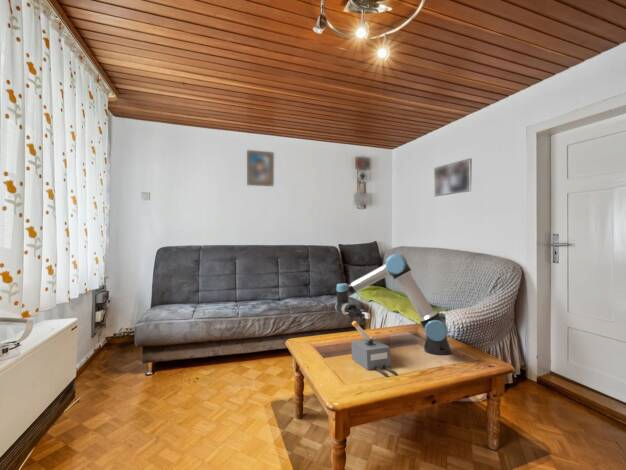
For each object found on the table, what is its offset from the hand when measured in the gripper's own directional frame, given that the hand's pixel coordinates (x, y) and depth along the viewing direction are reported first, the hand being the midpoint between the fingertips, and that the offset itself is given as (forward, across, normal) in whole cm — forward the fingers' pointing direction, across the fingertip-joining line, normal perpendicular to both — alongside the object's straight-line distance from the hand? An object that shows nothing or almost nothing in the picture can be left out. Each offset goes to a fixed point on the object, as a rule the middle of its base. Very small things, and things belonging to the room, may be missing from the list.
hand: (368, 316), depth 153 cm
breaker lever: (-5, -3, -15) cm, 17 cm away
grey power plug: (0, -3, -26) cm, 26 cm away
